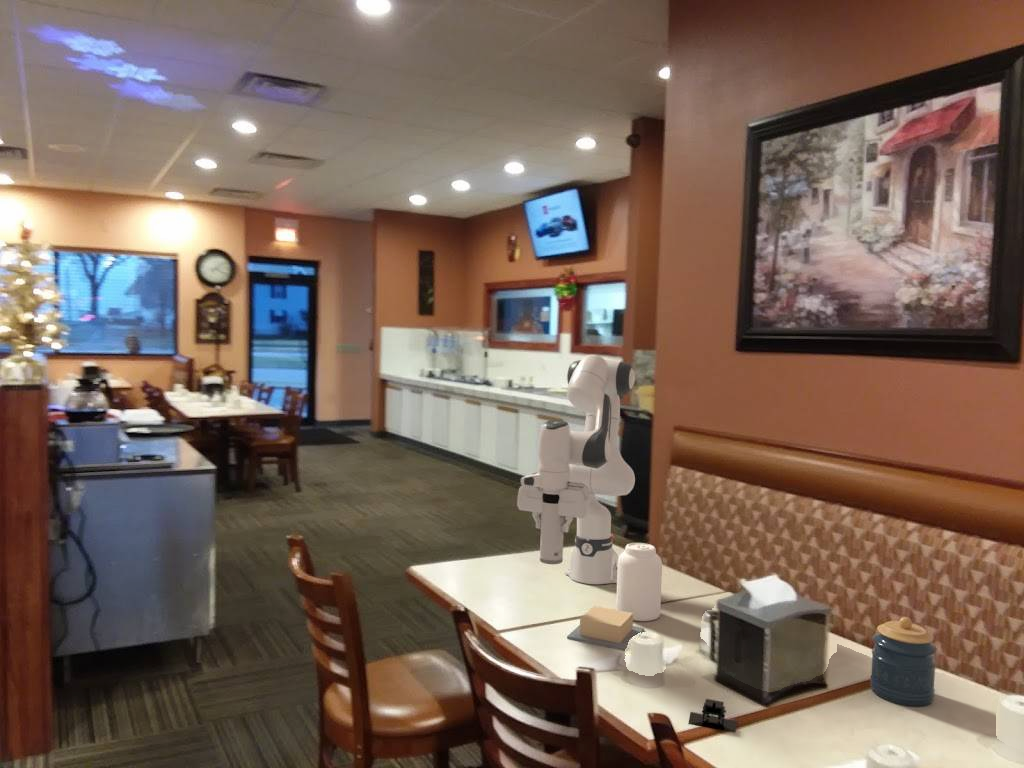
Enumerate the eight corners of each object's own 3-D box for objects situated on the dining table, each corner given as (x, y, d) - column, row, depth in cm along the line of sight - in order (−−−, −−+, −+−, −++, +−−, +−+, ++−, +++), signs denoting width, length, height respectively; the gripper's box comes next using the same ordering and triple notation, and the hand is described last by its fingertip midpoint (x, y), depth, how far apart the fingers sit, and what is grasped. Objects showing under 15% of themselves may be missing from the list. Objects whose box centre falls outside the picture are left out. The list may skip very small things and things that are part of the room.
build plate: (680, 727, 156) (681, 705, 156) (684, 711, 163) (685, 690, 163) (743, 739, 152) (744, 716, 152) (745, 722, 159) (746, 700, 159)
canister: (860, 680, 180) (864, 606, 179) (916, 682, 179) (920, 608, 178) (885, 706, 167) (890, 627, 166) (945, 709, 166) (950, 629, 165)
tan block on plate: (588, 619, 214) (589, 601, 214) (644, 630, 207) (644, 611, 207) (567, 638, 200) (567, 619, 199) (626, 650, 193) (626, 631, 192)
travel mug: (561, 565, 207) (564, 492, 206) (537, 563, 209) (540, 490, 208) (565, 559, 213) (567, 488, 212) (541, 557, 215) (544, 486, 214)
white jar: (668, 614, 220) (671, 546, 218) (644, 625, 210) (647, 554, 209) (632, 603, 228) (634, 537, 227) (607, 613, 219) (609, 544, 218)
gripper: (593, 482, 208) (591, 532, 209) (525, 474, 217) (523, 522, 218) (585, 486, 202) (583, 537, 203) (515, 478, 211) (514, 527, 212)
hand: (551, 529), depth 210 cm, fingers closed on travel mug, 6 cm apart
